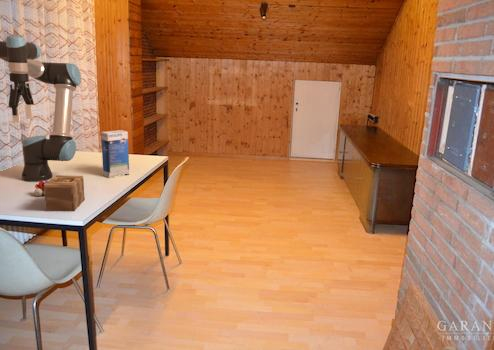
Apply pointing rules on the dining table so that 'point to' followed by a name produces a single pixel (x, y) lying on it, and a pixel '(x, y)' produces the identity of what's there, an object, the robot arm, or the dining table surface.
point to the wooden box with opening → (64, 193)
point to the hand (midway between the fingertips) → (23, 120)
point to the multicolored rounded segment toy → (39, 188)
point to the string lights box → (115, 153)
